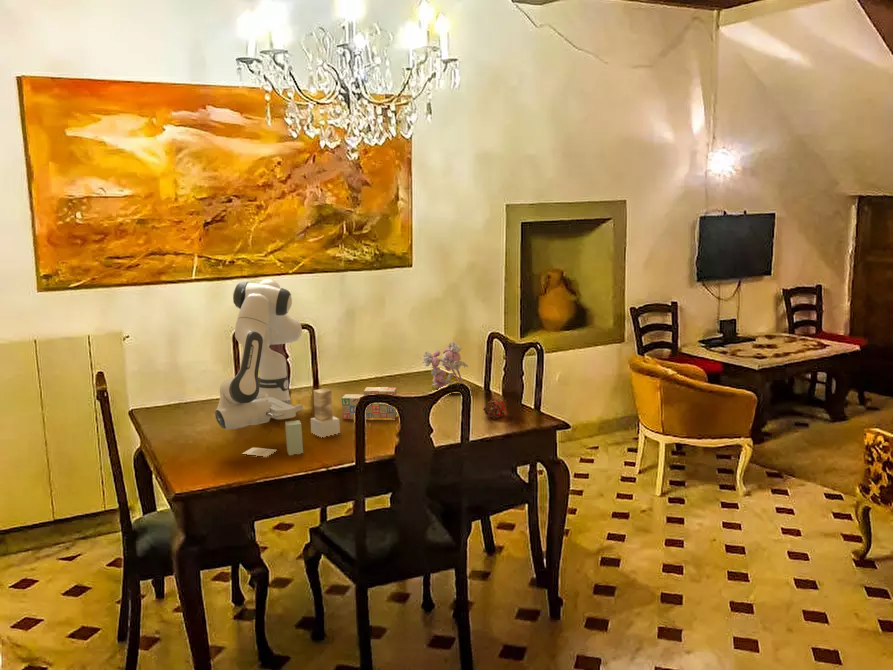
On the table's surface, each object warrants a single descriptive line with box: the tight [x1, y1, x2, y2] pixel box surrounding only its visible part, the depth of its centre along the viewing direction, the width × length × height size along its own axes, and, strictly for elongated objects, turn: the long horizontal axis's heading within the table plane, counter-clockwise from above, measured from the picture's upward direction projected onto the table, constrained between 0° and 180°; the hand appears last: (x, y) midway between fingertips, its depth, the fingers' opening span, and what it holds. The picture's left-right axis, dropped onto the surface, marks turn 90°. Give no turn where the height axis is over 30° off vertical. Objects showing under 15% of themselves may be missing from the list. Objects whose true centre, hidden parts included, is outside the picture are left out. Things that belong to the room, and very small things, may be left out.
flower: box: [419, 340, 469, 389], centre depth 382 cm, size 20×22×25 cm
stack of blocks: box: [341, 386, 398, 421], centre depth 344 cm, size 21×6×12 cm, turn 83°
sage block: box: [285, 419, 304, 456], centre depth 305 cm, size 5×5×11 cm
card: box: [241, 446, 278, 458], centre depth 306 cm, size 10×7×1 cm
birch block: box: [313, 387, 334, 421], centre depth 325 cm, size 5×5×11 cm
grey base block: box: [310, 416, 341, 439], centre depth 327 cm, size 8×8×6 cm
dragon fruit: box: [483, 397, 507, 420], centre depth 341 cm, size 8×8×12 cm
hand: (296, 404), depth 318 cm, fingers open, 8 cm apart
